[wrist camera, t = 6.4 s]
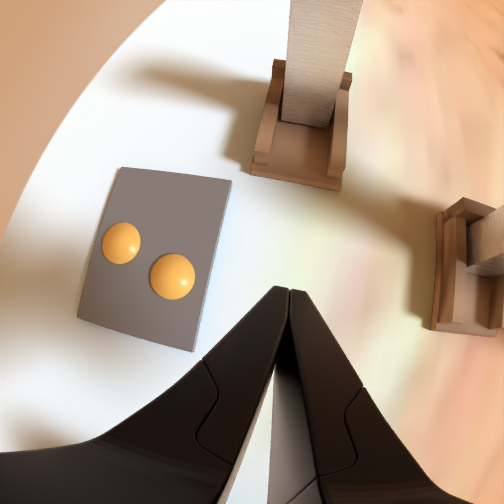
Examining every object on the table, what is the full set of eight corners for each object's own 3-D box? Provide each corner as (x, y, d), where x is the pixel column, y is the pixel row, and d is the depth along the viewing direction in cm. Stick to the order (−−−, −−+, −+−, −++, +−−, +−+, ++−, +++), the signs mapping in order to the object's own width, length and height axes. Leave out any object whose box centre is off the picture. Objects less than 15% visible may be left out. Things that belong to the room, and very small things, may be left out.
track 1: (338, 191, 22) (352, 165, 18) (250, 174, 23) (248, 146, 19) (344, 103, 24) (354, 73, 21) (270, 89, 25) (271, 58, 21)
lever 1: (327, 131, 22) (375, -50, 7) (280, 123, 22) (294, -66, 8) (329, 99, 23) (368, -65, 8) (286, 91, 23) (300, -78, 8)
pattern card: (193, 351, 19) (191, 352, 19) (80, 317, 20) (74, 317, 19) (232, 184, 22) (231, 178, 21) (124, 170, 23) (119, 165, 22)
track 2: (490, 336, 19) (520, 334, 15) (430, 330, 19) (459, 328, 16) (493, 232, 21) (519, 218, 17) (436, 215, 21) (461, 196, 18)
